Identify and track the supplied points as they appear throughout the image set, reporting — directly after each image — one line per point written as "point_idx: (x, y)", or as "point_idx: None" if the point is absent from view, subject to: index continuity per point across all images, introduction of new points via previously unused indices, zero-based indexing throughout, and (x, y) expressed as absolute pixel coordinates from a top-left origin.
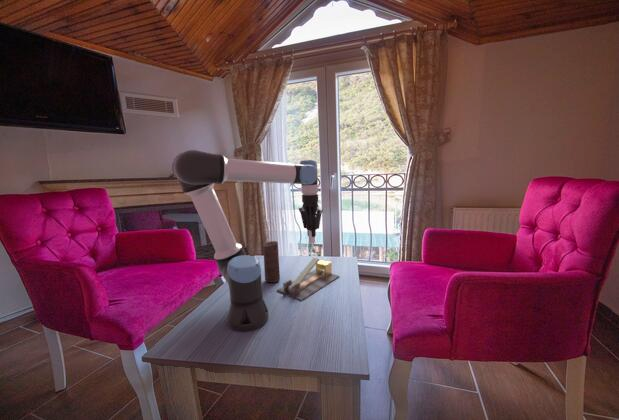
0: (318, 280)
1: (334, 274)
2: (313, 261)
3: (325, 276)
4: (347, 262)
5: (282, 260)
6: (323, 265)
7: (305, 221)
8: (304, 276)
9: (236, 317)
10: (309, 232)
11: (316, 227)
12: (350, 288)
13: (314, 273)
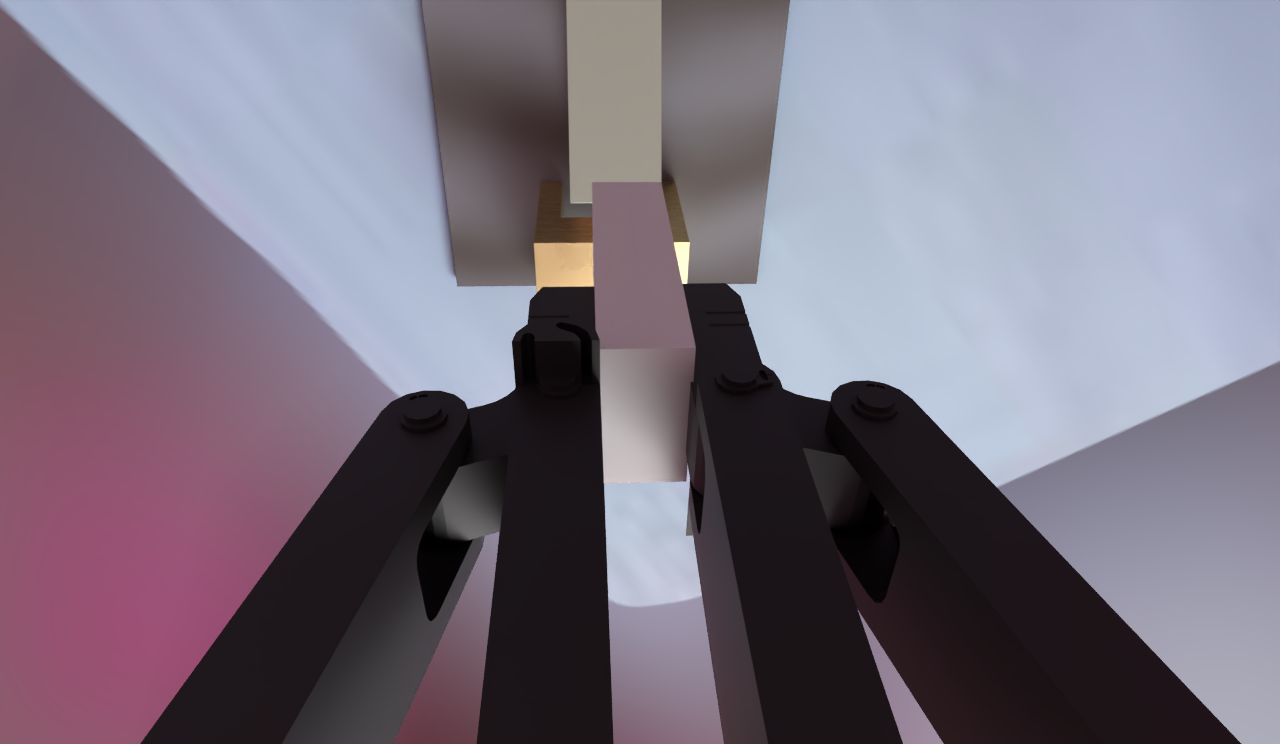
0: (558, 72)
1: (516, 284)
2: (610, 125)
3: (546, 184)
4: None
5: (1232, 272)
6: (567, 239)
7: (920, 580)
8: None
9: None
10: (647, 312)
11: (363, 459)
12: (192, 134)
13: (707, 191)
